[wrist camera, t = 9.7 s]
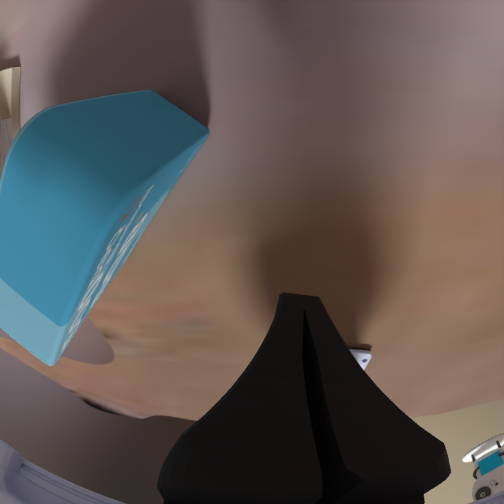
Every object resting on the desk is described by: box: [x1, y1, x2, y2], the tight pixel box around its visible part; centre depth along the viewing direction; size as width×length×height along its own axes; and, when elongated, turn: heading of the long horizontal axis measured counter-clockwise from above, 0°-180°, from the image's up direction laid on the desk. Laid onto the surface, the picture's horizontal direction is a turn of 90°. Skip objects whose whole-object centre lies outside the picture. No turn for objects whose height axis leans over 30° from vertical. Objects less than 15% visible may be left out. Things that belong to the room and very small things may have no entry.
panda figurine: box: [462, 433, 504, 501], centre depth 33 cm, size 12×11×15 cm
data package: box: [0, 90, 209, 366], centre depth 15 cm, size 12×4×12 cm, turn 142°
